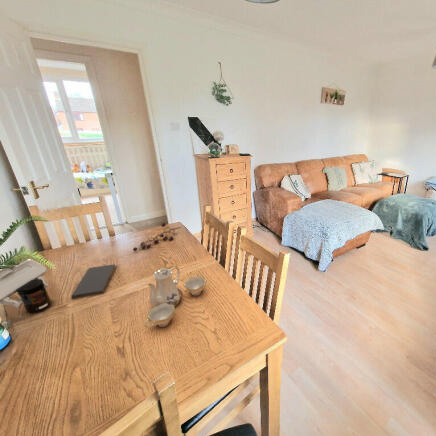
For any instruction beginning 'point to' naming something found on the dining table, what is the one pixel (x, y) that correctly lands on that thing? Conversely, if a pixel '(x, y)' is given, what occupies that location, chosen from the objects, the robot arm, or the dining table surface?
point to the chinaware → (169, 295)
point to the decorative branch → (157, 238)
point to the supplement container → (34, 296)
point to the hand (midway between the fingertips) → (34, 295)
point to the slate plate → (94, 281)
